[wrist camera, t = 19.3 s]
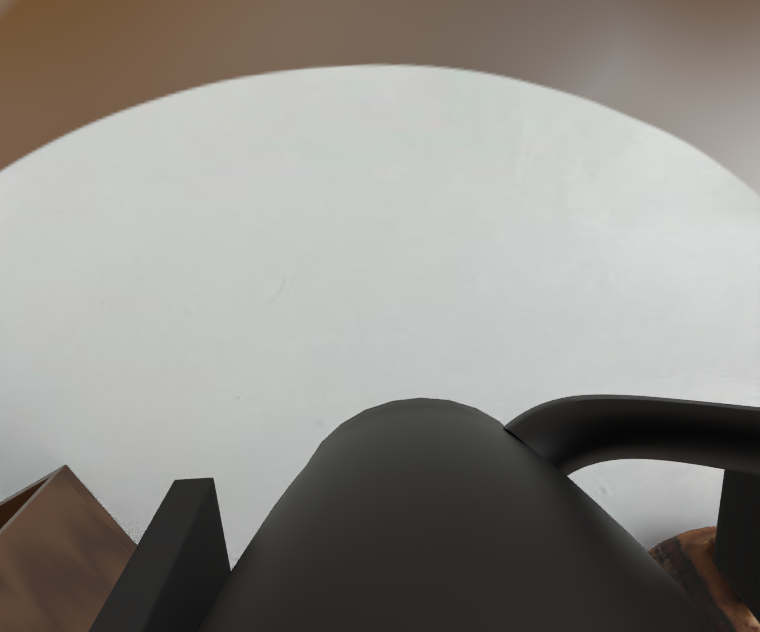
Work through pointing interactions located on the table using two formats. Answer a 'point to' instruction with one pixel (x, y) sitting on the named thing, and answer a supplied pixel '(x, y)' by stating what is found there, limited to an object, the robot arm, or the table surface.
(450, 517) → the mug
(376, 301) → the table surface
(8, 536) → the cupboard
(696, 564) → the vase
